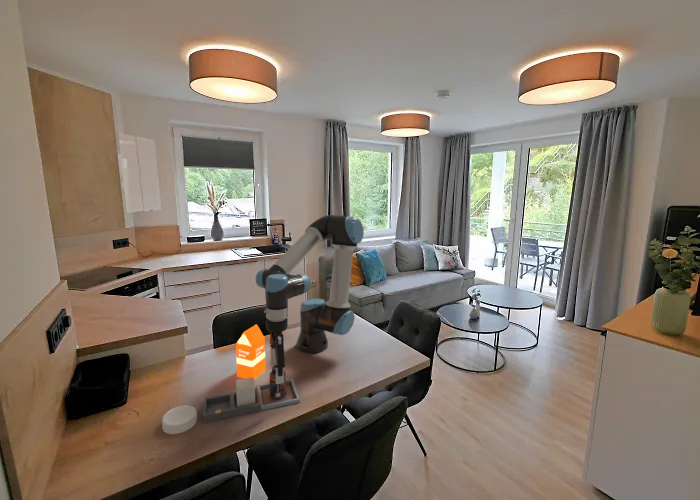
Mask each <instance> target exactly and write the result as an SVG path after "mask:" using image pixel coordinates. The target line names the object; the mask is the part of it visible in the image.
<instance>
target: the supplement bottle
mask: <svg viewBox="0 0 700 500" xmlns="http://www.w3.org/2000/svg"><path fill="white" fill-rule="evenodd" d="M274 366H276V364H275V365H272V367H271V371H270V373H269V383H270V387H269V397H270V398H271V399H273V400H279V399H283V398H284V397H285V396H286V394H287V384H286V380H287V373H286V371H285V370H284V383H281V384H276V368H274Z"/></svg>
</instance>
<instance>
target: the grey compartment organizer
mask: <svg viewBox="0 0 700 500" xmlns="http://www.w3.org/2000/svg"><path fill="white" fill-rule="evenodd" d="M255 384H256V383H255V379H254V377H250V378H240V379H236V380H235V391H234V392H228V393H222V394H218V395H212V396H206V397H204V401H203V413H202V414H203V415H202V420H203V424H204V423H207V422H214V421H218V420H222V419H226V418H232V417H237V416H242V415H247V414H251V413H256V412H260V411H261V407H260V400H259V394H258V388H257V387H256V385H255Z"/></svg>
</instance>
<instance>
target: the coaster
mask: <svg viewBox="0 0 700 500" xmlns="http://www.w3.org/2000/svg"><path fill="white" fill-rule="evenodd" d="M197 411H198V410H197V409H196V407H194V406H193V405H188V404H187V405H186V404H185V405H178V406H175V407H173V408H171V409H168V410H167V412H165V413H164V415H163V416H162V417H161V418H162V419H161V426H162V427H161V428H162V431H163V432H164V433H165V434H167V435H178V434H182V433H185V432H187V431H189V430H190V429H192V428H193V427H194V426H195V425H196V423H197V421H198V413H197Z"/></svg>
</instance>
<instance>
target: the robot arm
mask: <svg viewBox="0 0 700 500" xmlns="http://www.w3.org/2000/svg"><path fill="white" fill-rule="evenodd" d="M364 234H365V233H364V225H363V223H362V220H361V219H359V217H356V216H350V215H349V216H348V215H335V214H329V215H328V214H327V215H324V216H322V217H319V218H318V219H316V220H314V222H312V223H311V224H309V225H308V226H307V227H306V228H305V230H304V233H303V234H302V236H300V237H299V238H298V239H297V240H296V241H295V242H294V243H293V244H292V245H291V246H290V248H288V249H287V250H286V251H285V252H284V253H283V254H282V255H281V257H280V258H278V259H277V261H275V262H274V264H272V265H271V266H270V267H269V268H268V269H267V268H263V269H260V270H258V272H257V273H256V276H255V283H256V285H257V286H258V287H259V288H261V289H264V290H265V309H264V311H263V312H264V314H265V318H266V319H265V328H266V330H267V331H268V332H270V333H269V344H270V345H269V346H270V348H269V349H270V362H269V363H270V366H274V365H276V366H274V368H276V384H281V383H284V371H285V368H286V360H285V359H286V358H285V357H286V356H285V343H284V340H285V339H284V333H283V332H284V331H286V330H287V329H288V326H289V325H288V315H289V313H288V312H289V306H288V305H289V302H288V301H289V299H292V298H294V297H295V298H296V297H298V296H301V295H303V294H305V293H308V292H309V290H310V289H311V286H312V284H311V283H312V282H311V279H310V277H309V276H308V275H307V274H305V273H298V274H291V273H292V272H293V271H294V270H295V269H296V268H297V267H298V265H300V263H301V262H302V261H303V260H304V259H305V258H306V257H307V256H308V255H309V253H310V252H312V250H314V248H316V246H317V245H321V244H322V243H323V242H324V241H331V245H332V246H333V248H334V252H333V261H332V271H331V272H332V273H331V280H330V291H329V299H328V300H327V301H325V299H324V298H312V299H307V300H304V301H302V302H301V304H300V310H299V312H300V332H299V334H298V337H297V341H296V348H297V349H298V350H299V351H300V352H303V353H307V354H314V353H316V354H317V353H321V352H324V351H325V350H326V349H328V345H329V340H328V337H327V334H326V332H327V333H331V334H334V335H338V336H339V335H340V336H344V335H347V334H348V333H349V332H350V331H351V329H352V328H353V325H354V322H355V313H354V311H352V310H351V306H352V305H351V304H350V303H349V295H350V294H349V293H350V285H351V277H352V266H353V257H354V250H355V249H357V247H358V244H360V243H362V241H363V238H364Z"/></svg>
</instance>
